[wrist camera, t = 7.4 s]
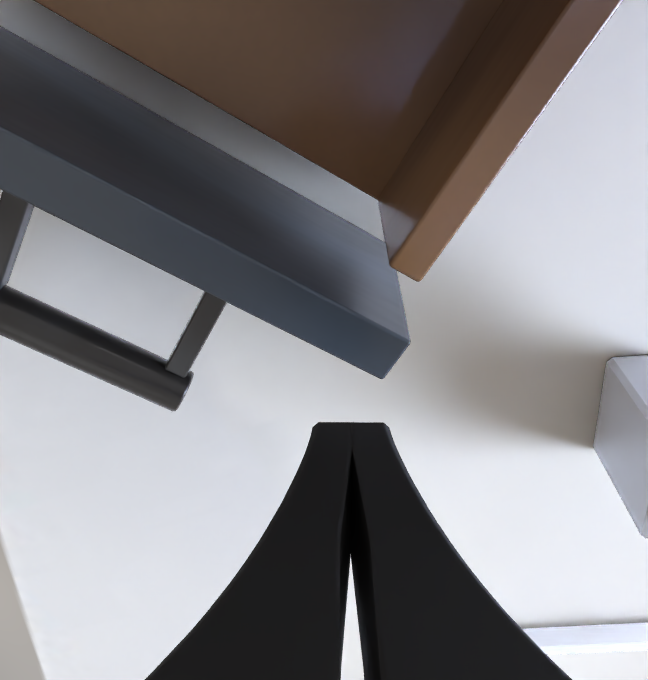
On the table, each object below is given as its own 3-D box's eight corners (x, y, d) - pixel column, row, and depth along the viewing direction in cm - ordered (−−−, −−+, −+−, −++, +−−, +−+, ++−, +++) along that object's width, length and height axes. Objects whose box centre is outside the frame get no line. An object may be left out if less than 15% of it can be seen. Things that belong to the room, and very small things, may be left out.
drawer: (297, 387, 21) (284, 511, 16) (-100, 198, 18) (-263, 280, 13) (707, -223, 13) (930, -343, 8) (116, -759, 10) (-98, -1474, 5)
